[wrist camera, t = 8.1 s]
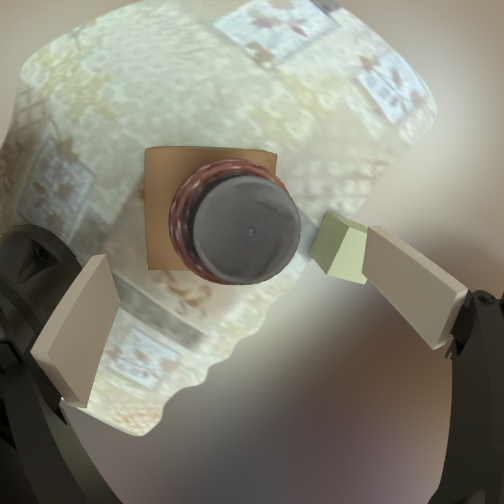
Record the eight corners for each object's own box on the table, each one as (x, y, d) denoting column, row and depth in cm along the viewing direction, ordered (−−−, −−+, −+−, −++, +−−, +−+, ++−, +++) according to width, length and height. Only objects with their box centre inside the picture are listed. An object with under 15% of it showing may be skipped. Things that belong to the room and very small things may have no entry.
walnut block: (157, 246, 26) (148, 269, 22) (156, 146, 22) (144, 149, 18) (254, 247, 28) (263, 271, 24) (263, 150, 24) (277, 154, 20)
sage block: (308, 252, 29) (326, 274, 25) (326, 210, 28) (349, 226, 23) (343, 262, 31) (364, 284, 26) (361, 224, 29) (386, 241, 24)
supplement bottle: (178, 166, 19) (177, 131, 8) (255, 177, 20) (336, 163, 10) (168, 246, 20) (158, 305, 9) (245, 253, 21) (311, 310, 11)
